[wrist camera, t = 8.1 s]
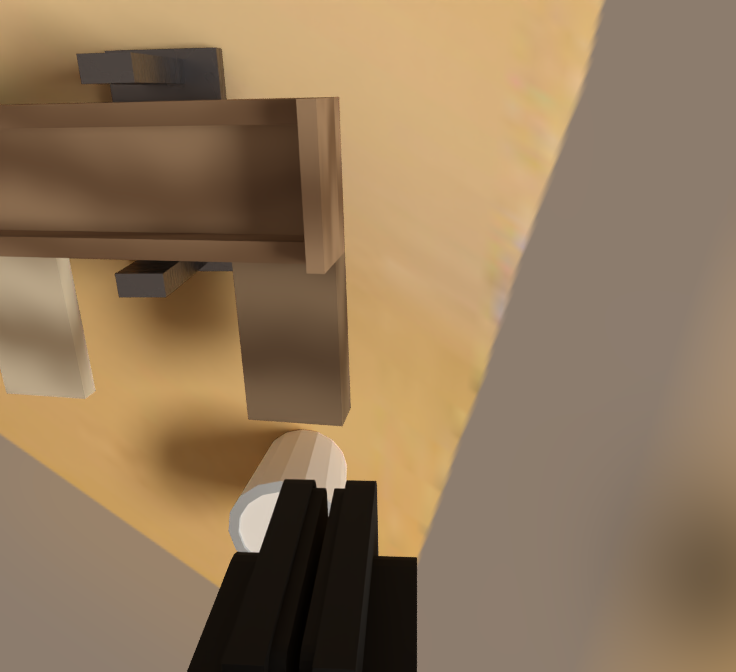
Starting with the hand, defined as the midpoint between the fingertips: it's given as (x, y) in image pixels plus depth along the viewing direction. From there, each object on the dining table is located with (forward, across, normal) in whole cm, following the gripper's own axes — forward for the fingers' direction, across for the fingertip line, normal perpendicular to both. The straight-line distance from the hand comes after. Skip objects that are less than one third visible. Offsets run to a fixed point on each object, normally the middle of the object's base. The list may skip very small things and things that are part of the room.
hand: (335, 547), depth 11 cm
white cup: (+27, +6, +16) cm, 32 cm away
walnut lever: (+22, +12, 0) cm, 25 cm away
